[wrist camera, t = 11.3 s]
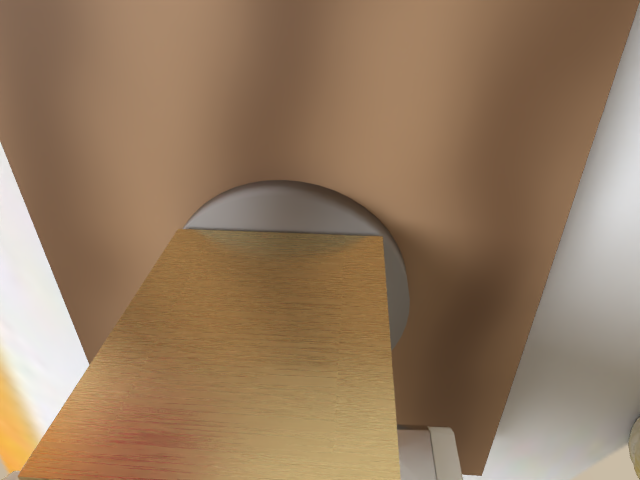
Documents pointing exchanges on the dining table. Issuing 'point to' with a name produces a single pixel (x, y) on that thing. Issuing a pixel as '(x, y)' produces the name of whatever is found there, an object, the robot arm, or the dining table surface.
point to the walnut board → (319, 156)
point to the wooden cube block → (239, 368)
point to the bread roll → (635, 446)
